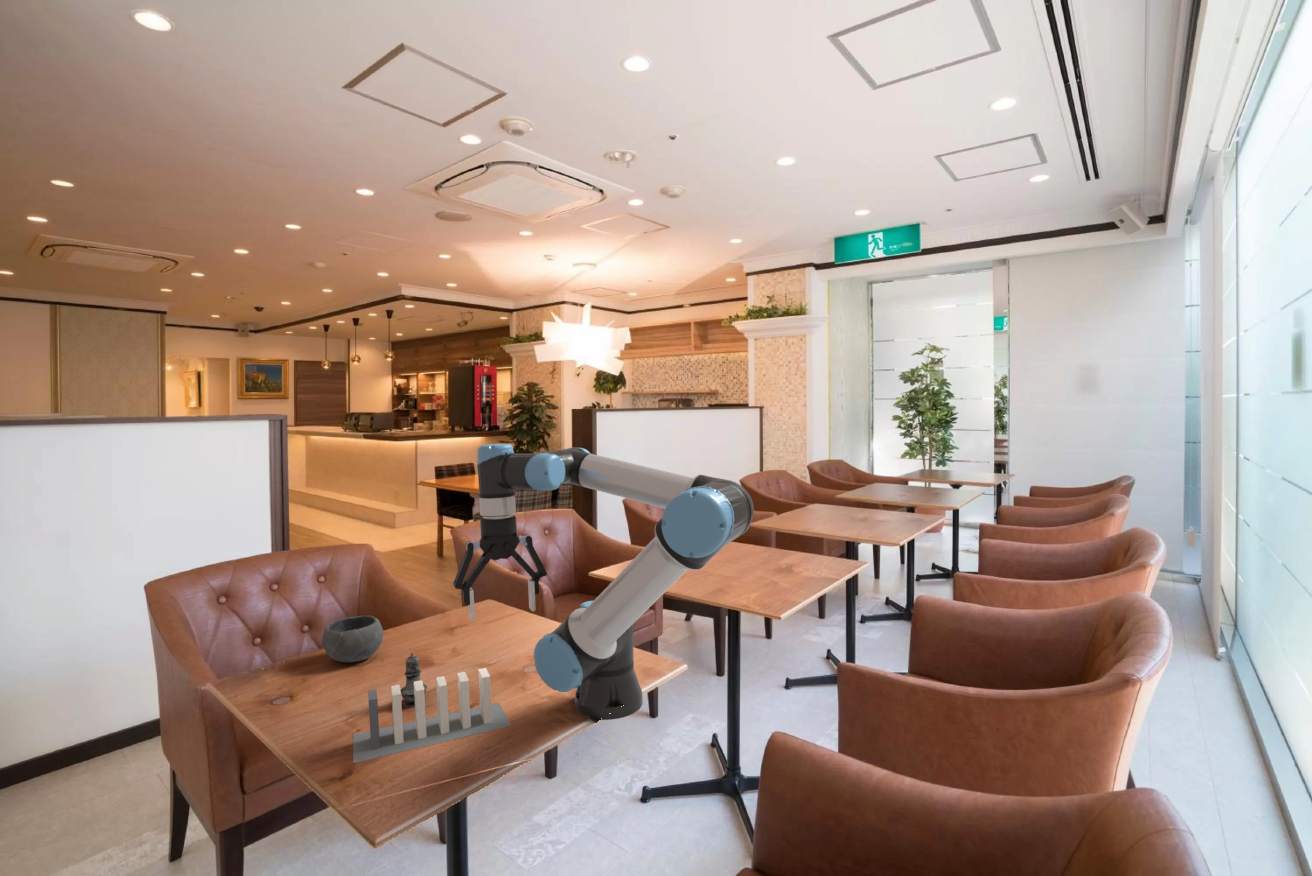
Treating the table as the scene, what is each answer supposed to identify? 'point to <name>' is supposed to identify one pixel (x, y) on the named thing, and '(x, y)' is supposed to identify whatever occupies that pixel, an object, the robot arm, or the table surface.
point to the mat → (432, 732)
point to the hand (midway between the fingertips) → (502, 614)
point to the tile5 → (397, 714)
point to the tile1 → (485, 695)
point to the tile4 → (420, 709)
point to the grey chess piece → (411, 680)
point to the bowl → (352, 638)
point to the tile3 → (442, 704)
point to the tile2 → (464, 700)
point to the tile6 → (373, 719)
